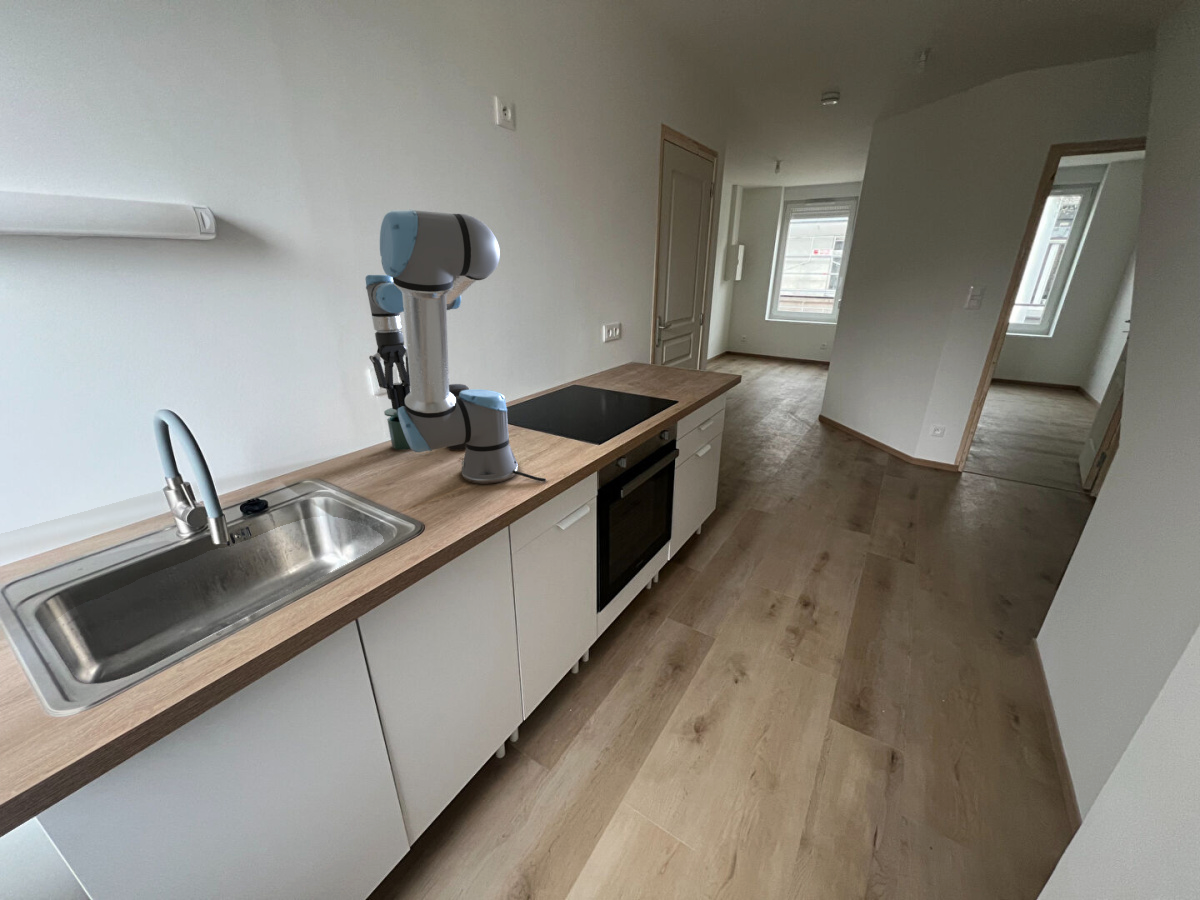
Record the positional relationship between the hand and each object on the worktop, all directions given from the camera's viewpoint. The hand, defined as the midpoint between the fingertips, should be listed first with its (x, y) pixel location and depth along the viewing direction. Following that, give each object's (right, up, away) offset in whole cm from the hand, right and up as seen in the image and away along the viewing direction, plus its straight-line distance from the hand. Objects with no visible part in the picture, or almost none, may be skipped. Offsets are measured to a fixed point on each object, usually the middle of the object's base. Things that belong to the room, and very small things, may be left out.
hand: (401, 407), depth 141 cm
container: (+17, -12, +4) cm, 22 cm away
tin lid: (0, -1, +1) cm, 1 cm away
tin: (0, -12, +5) cm, 13 cm away
